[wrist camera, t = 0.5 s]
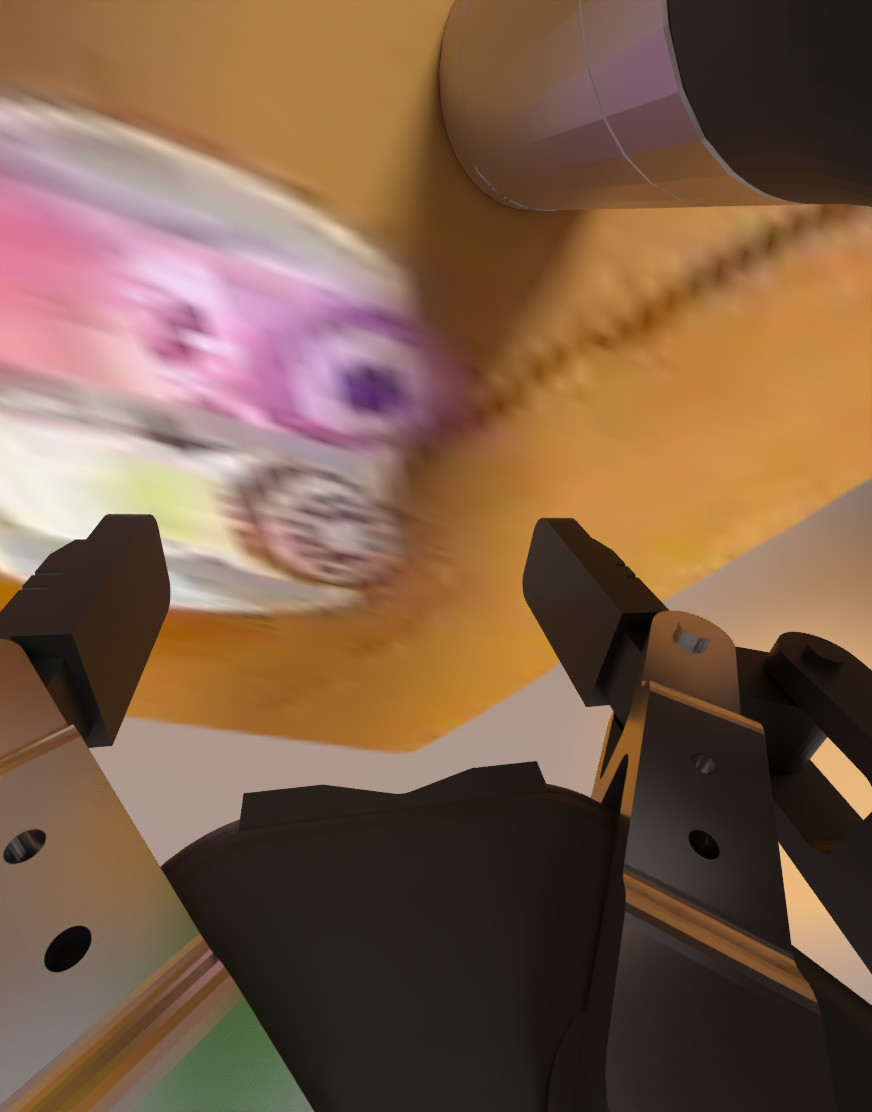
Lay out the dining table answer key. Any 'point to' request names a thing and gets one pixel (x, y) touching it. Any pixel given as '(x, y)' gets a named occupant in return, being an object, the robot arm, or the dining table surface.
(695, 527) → the dining table surface
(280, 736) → the dining table surface
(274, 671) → the dining table surface
